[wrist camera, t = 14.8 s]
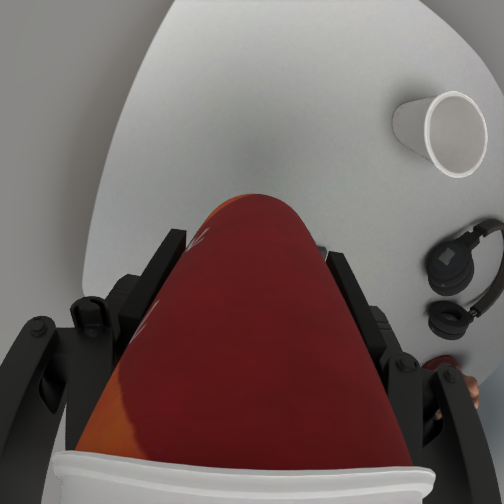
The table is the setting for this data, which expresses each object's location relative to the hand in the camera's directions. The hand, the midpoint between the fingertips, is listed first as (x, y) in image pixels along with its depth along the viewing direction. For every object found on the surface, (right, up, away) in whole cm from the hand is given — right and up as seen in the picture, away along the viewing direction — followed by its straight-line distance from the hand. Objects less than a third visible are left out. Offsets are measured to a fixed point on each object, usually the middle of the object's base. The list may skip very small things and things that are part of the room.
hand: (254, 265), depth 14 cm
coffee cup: (0, +1, +2) cm, 2 cm away
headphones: (+35, -2, +23) cm, 42 cm away
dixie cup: (+19, +16, +14) cm, 29 cm away
